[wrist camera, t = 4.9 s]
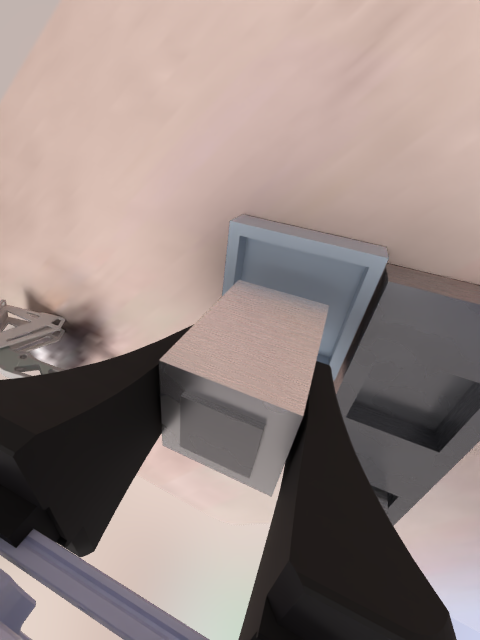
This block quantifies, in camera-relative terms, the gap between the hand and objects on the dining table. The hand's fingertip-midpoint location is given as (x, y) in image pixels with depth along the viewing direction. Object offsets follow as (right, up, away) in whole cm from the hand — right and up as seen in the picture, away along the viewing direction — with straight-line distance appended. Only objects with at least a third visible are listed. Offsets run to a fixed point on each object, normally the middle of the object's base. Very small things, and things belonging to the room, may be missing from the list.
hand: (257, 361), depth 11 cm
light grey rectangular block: (+1, +1, +2) cm, 2 cm away
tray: (+2, +3, +5) cm, 7 cm away
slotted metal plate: (+8, -6, +8) cm, 13 cm away
